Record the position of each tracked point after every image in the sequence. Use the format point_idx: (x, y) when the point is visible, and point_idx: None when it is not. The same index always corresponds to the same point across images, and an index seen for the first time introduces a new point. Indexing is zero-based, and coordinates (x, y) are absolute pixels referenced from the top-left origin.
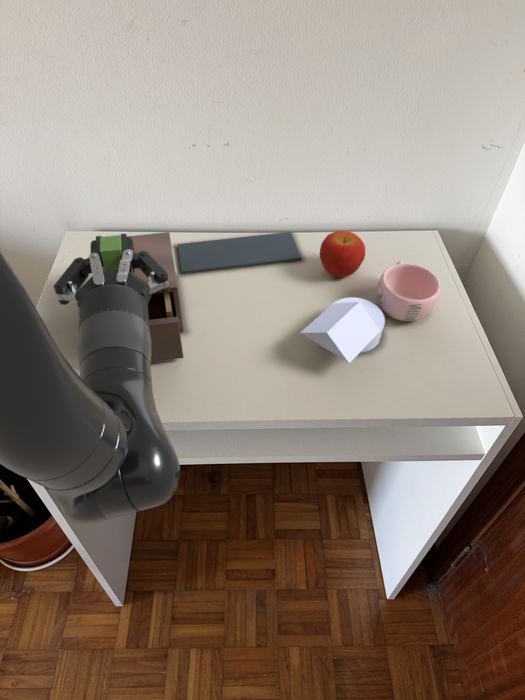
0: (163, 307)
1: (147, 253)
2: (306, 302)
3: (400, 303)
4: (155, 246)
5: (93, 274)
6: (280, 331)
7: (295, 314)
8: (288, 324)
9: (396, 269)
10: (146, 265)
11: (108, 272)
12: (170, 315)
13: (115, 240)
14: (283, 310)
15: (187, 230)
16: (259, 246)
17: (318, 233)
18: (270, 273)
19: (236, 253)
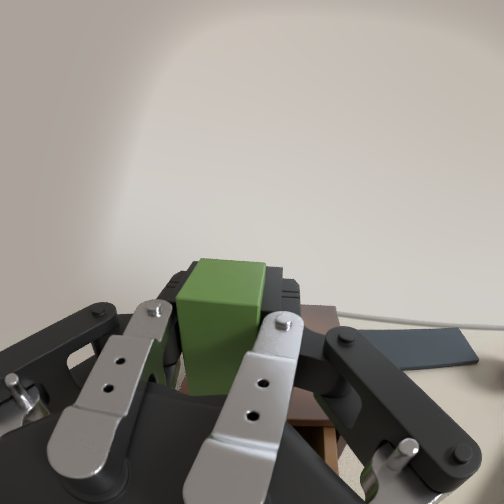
0: (301, 432)
1: (365, 338)
2: (499, 423)
3: None
4: (312, 325)
5: (86, 391)
6: (477, 474)
7: (491, 443)
8: (485, 461)
9: None
10: (366, 395)
11: (171, 399)
12: None
13: (246, 273)
14: (476, 438)
15: (337, 313)
16: (430, 343)
17: (482, 331)
18: (450, 381)
19: (405, 350)
